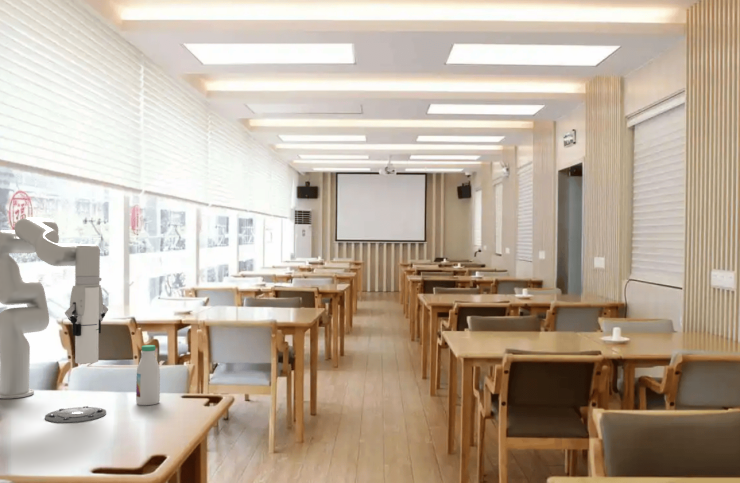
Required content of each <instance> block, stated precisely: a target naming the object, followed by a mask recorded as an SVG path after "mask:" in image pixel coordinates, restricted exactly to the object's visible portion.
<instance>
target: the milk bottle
mask: <svg viewBox="0 0 740 483" xmlns="http://www.w3.org/2000/svg"><path fill="white" fill-rule="evenodd" d="M159 365H160V364H159V363H158V360H157V358H156V345H155V344H146V345H141V358H140V361H139V363H138V365H137V368H136V392H135V393H136V394H135V395H136V398H135V399H136V400H135V402H136V404H137V405H139V406H153V405H156V404H159V403H160V399H161V398H160V397H161V392H160V391H161V387H160V385H161V384H160V380H161V373H160V372H161V371H160V366H159Z"/></svg>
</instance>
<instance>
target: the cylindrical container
mask: <svg viewBox="0 0 740 483" xmlns="http://www.w3.org/2000/svg"><path fill="white" fill-rule="evenodd" d="M76 314H77V311H76ZM79 324H81V335H80V336H75V340H74V341H75V342H74V346H75V348H74V349H75V350H74V351H75V354H74V357H75V359H74V361H75V362H74V363H75V364H79V365H80V364H81V365H87V364H95V363H98V362H99V341H100V340H99V339H100V338H99V334H100V333H99V287H90V288H85V310H84V315H83V316H82V318H81V320H80V322H79Z"/></svg>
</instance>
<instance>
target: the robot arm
mask: <svg viewBox="0 0 740 483" xmlns="http://www.w3.org/2000/svg"><path fill="white" fill-rule="evenodd" d="M59 242H60V236H59V226H58V224H57V222H56V221H54V220H53V219H50V218H47V217H46V218H44V217H23V218H21V219H19V220H17V221H16V222H15V224H14V228H13V229H12V230H11V229H6V230H5V229H4V230H3V229H1V230H0V304H2V305H4V306H5V305H6V306H15V305H17V306H18V305H26V306H21V307H10V308H7V309H4V310H2V311H1V312H0V399H4V400H5V399H20V398H25V397H29V396H32V395H34V394H35V390H34V389H31V388H30V365H31V364H30V359H31V358H30V356H31V353H30V352H31V351H30V347H31V346H30V343H29V340H28V339H27V337H26V336H25V335H24V334H29V333H37V332H38V333H39V332H42V331H45V330H46V329H47V328H48V326H49V324H50V313H49V308H48V302H47V297H46V292H45V289H44V288H45V287H44V286H43V284H42V282H41V281H40V280H38V279H37V278H33V277H32V278H29V277H28V278H23V277H22V275H21V271H20V266H19V264H18V263H17V261H16V260H15V259H14V258H13V257H12V256H10V254H34V253H35V254H36V256H37V257H38V259H40V260H41V261H43V262H44V263H45V264H48V265H50V266H52V267H53V266H54V267H68V266H69V267H75V269H74V272H75V274H74V278H75V279H74V283H75V284H74V285H72V288H71V293H70V298H69V299H70V301H69V307H68V309H66V311H65V312H64V315H65V316H66V318H68V320H69V321H70V324H72V336H80V335H81V324H79V322H80V320H81V318H82V316H83V315H84V310H85V288H90V287H99V334H101V333H102V332H101V329H102V322H103V320H104V318H105V316H106V314H107V313H108V311H109V308H108V307H107V306H106V305H104V299H103V290H102V286H101V284H100V282H102V277H100V269H101V267H100V265H101V264H100V263H101V262H100V260H101V259H100V258H101V257H100V256H101V255H100V253H101V250H100V247H99V245H98V244H83V243H82V244H81V243H59ZM76 311H77V314H76Z"/></svg>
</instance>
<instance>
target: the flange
mask: <svg viewBox="0 0 740 483" xmlns="http://www.w3.org/2000/svg"><path fill="white" fill-rule="evenodd" d="M106 415H107V410H106V409H104V408H101V407H96V406H94V407H93V406H88V405H87V406H79V407H78V406H77V407H68V408H59V409H57V410H54V411H51V412H47V413H46V414H45V416H44V419H45V420H46V421H47V422H49V423H50V422H51V423H57V424H72V423H73V424H74V423H82V422H88V421H94V420H99V419H100V418H103V417H105V416H106Z"/></svg>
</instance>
